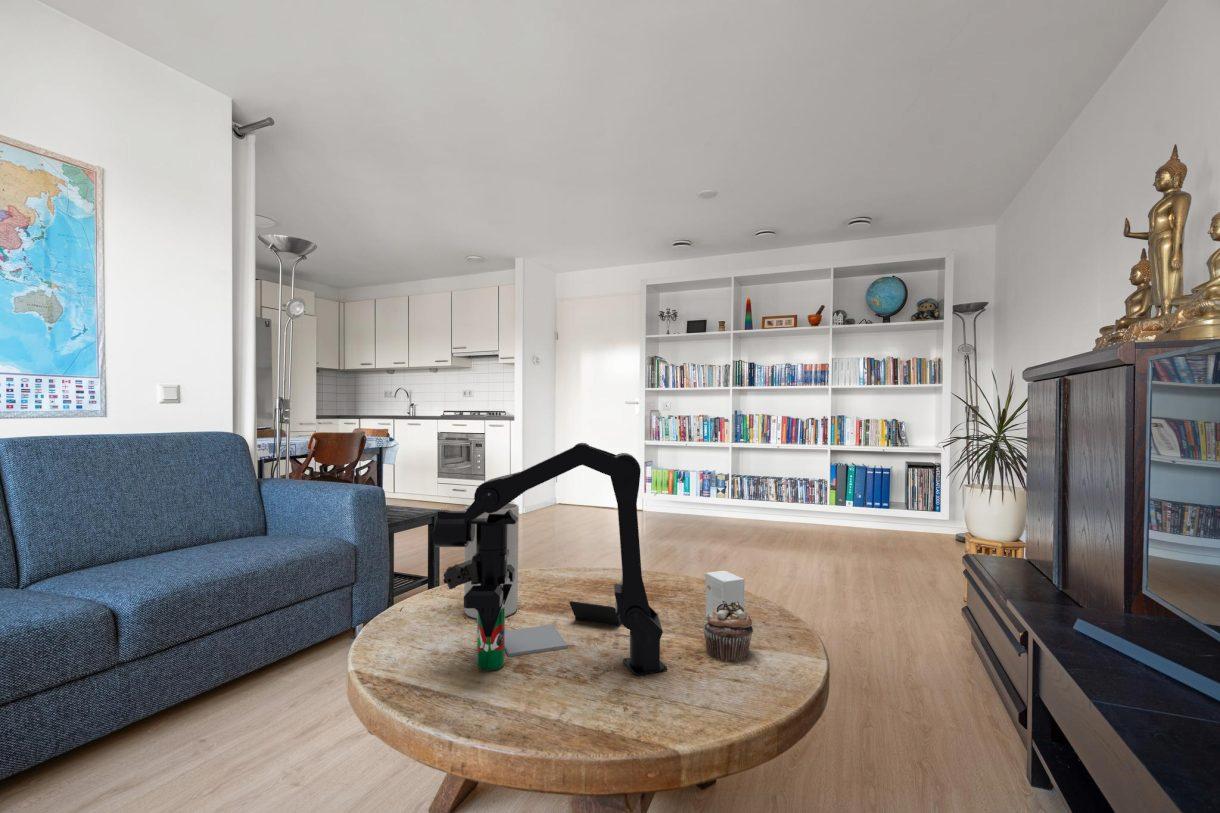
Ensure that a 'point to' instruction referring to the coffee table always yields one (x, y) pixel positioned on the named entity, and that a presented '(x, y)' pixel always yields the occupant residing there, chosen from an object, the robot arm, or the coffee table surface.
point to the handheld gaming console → (595, 613)
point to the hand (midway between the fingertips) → (491, 631)
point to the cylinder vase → (512, 560)
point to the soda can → (491, 644)
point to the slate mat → (533, 640)
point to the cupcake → (728, 632)
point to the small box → (723, 589)
